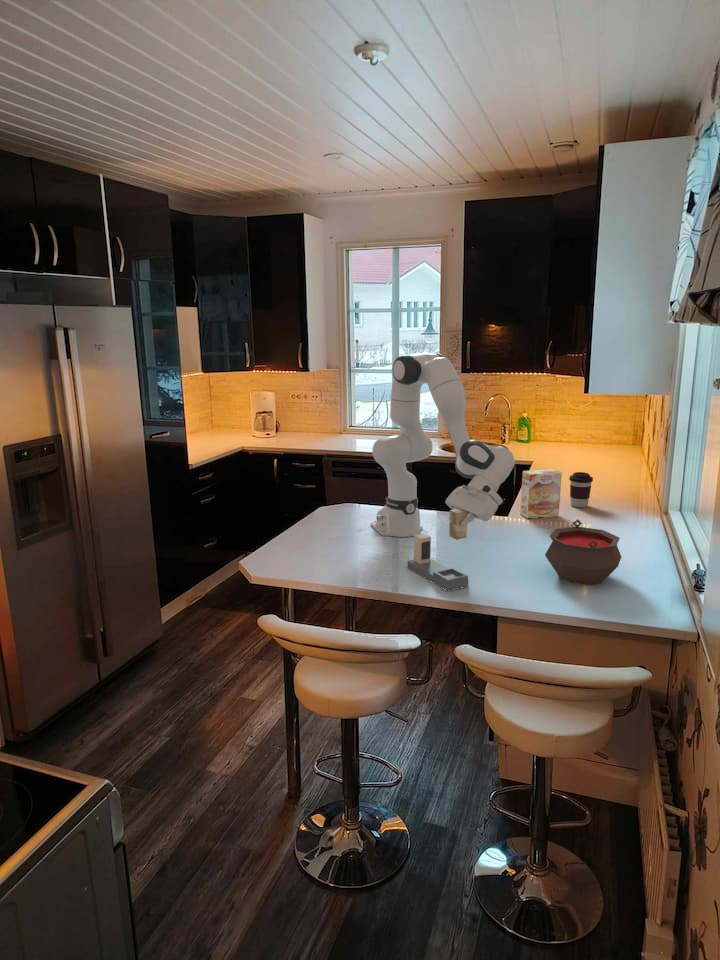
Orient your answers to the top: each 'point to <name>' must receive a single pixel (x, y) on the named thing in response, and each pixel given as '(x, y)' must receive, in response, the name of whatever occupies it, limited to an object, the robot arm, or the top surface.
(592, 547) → the brown cauldron
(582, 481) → the coffee cup
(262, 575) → the top surface
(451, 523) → the block
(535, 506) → the coffeecake box
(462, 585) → the grey block holder
